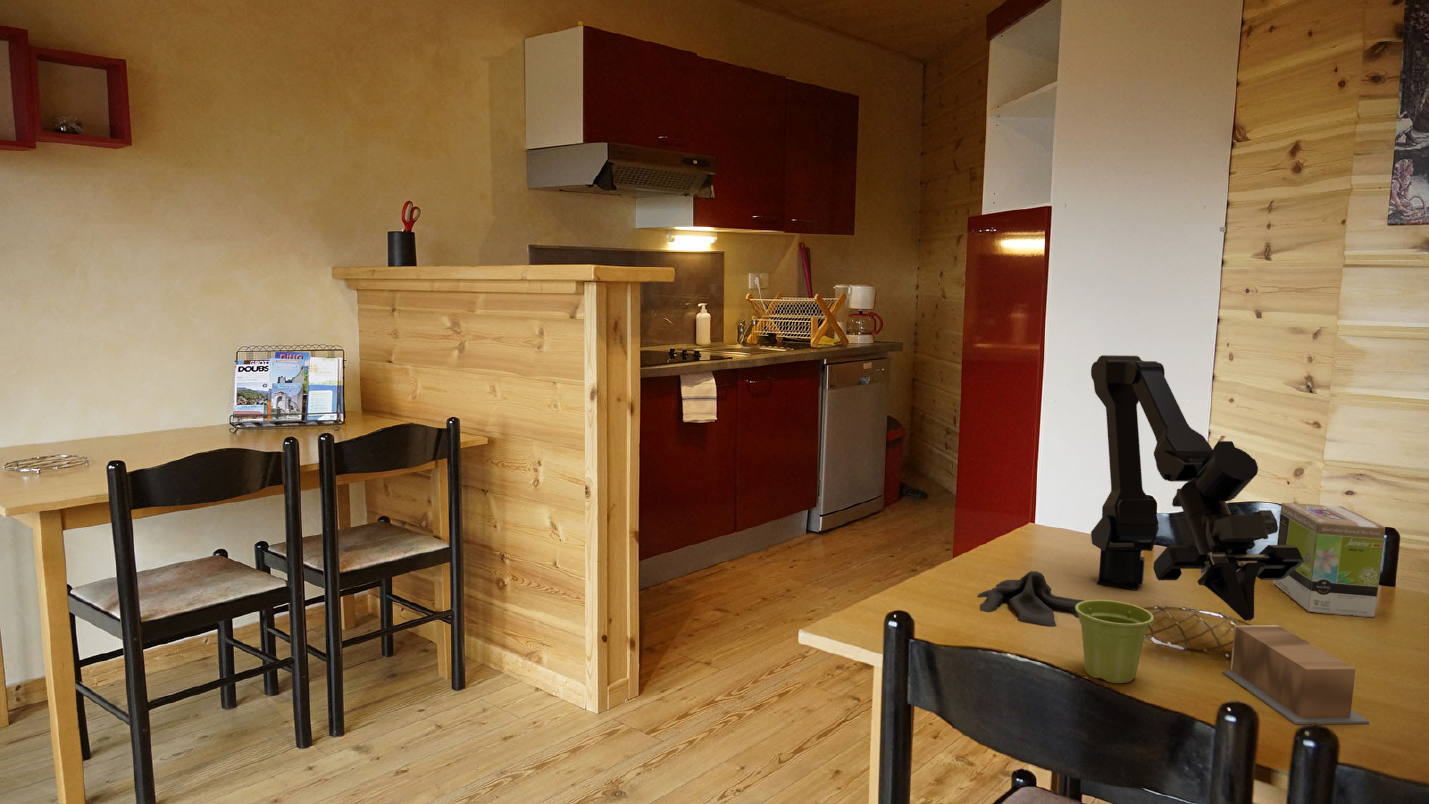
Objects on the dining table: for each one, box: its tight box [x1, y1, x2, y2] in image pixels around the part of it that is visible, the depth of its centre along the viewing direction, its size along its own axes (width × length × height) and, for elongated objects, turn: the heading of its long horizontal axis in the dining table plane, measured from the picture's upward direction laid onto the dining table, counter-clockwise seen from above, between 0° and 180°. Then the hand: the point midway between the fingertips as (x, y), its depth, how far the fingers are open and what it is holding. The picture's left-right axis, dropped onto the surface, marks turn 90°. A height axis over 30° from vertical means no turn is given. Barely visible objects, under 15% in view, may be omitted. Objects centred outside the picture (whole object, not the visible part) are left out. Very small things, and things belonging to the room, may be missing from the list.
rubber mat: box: [1222, 670, 1370, 726], centre depth 117 cm, size 14×9×1 cm, turn 3°
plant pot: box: [1075, 599, 1155, 684], centre depth 123 cm, size 9×9×9 cm
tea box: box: [1272, 502, 1386, 618], centre depth 153 cm, size 15×10×15 cm, turn 168°
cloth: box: [976, 570, 1086, 628], centre depth 149 cm, size 22×19×6 cm
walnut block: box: [1230, 624, 1356, 718], centre depth 118 cm, size 6×6×14 cm
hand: (1249, 619), depth 126 cm, fingers closed
